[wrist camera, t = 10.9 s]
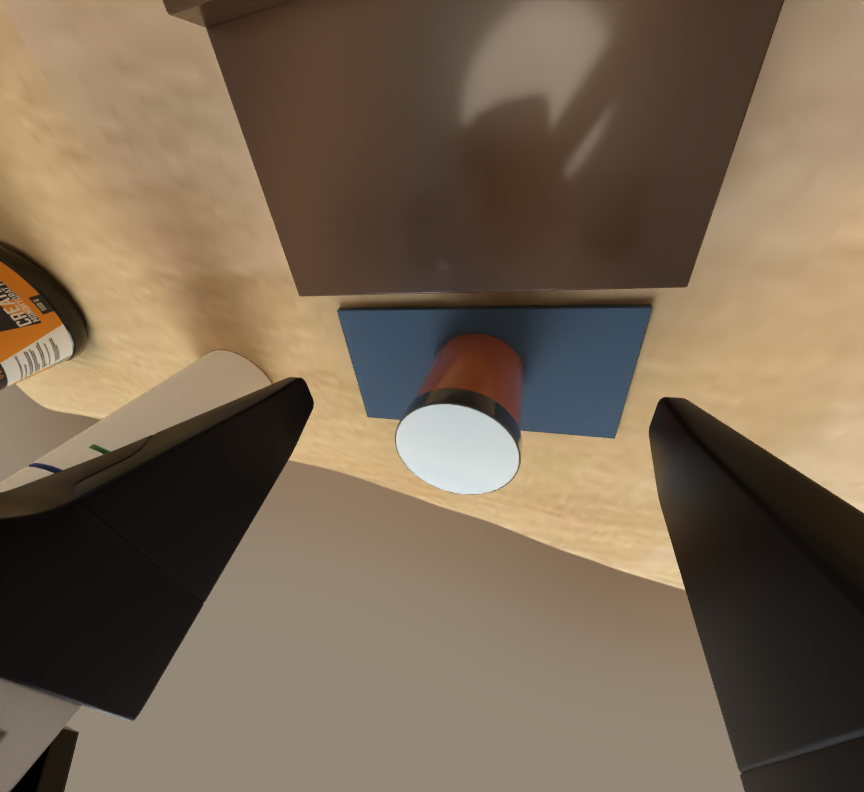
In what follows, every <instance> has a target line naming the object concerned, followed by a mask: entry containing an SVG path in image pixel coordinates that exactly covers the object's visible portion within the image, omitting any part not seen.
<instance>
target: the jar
mask: <svg viewBox="0 0 864 792" xmlns="http://www.w3.org/2000/svg"><path fill="white" fill-rule="evenodd" d="M523 390H524V368H523V365H522V362H521V360H520V358H519V356H518V355H517V353H516V352H515V351H514V350H513V349H512V348H511V347H510V346H509V345H508V344H507V343H505V342H504V341H502V340H500V339H498V338H496V337H493V336H490V335H486V334H480V333H469V334H463V335H460V336H456V337H454V338H452V339H450V340H449V341H447V342H446V343H445V344H443V345H442V346H441V348H440V349H439V350H438V352H437V353H436V355H435V357H434V359H433V361H432V363H431V365H430V367H429V369H428V371H427V373H426V375H425V377H424V379H423V381H422V383H421V385H420V387H419V389H418V391H417V393H416V395H415V397H414V399H413V401H412V402H411V403H410V404H409V406H408V407H407V409H406V410H405V412H404V414H403V416H402V418H401V420H400V422H399V424H398V426H397V429H396V433H395V443H396V448H397V451H398V454H399V456H400V458H401V459H402V461H403V463H404V464H405V465H406V466H407V468H408V469H409V470H410V471H411V472H412V473H414V474H415V475H416V476H417V477H418V478H420V479H421V480H423V481H424V482H426V483H428V484H430V485H432V486H434V487H436V488H439V489H442V490H445V491H448V492H452V493H457V494H466V495H476V494H484V493H489V492H493V491H495V490H498V489H500V488H502V487H504V486H505V485H507V484H508V483H509V482H510V481H511V480H512V479H513V478H514V477H515V475H516V474H517V472H518V470H519V467H520V462H521V451H522V437H521V419H522V404H523Z"/></svg>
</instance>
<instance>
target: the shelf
mask: <svg viewBox="0 0 864 792" xmlns="http://www.w3.org/2000/svg"><path fill="white" fill-rule="evenodd" d="M783 2H784V0H163V3H164V5H165V8H166V10H167V12H168V14H169V15H172V16H175V17H178V18H180V19H183V20H186V21H189V22H192V23H194V24H197V25H200V26H203V27H206V29H207V32H208V35H209V37H210V40H211V43H212V46H213V49H214V52H215V55H216V58H217V60H218V63H219V66H220V69H221V72H222V75H223V78H224V81H225V83H226V86H227V89H228V92H229V95H230V98H231V101H232V104H233V106H234V109H235V112H236V115H237V118H238V121H239V124H240V127H241V129H242V132H243V135H244V138H245V141H246V144H247V147H248V149H249V152H250V155H251V158H252V161H253V164H254V167H255V170H256V172H257V175H258V178H259V181H260V184H261V187H262V190H263V193H264V195H265V198H266V201H267V204H268V207H269V210H270V213H271V216H272V218H273V221H274V224H275V227H276V230H277V233H278V236H279V239H280V241H281V244H282V247H283V250H284V253H285V256H286V259H287V262H288V264H289V267H290V270H291V273H292V276H293V279H294V282H295V285H296V287H297V290H298V293H299V296H338V295H381V294H423V293H466V292H508V291H551V290H593V289H636V288H678V287H687V286H688V283H689V280H690V277H691V274H692V271H693V268H694V265H695V262H696V259H697V256H698V253H699V251H700V248H701V245H702V242H703V239H704V236H705V233H706V230H707V227H708V224H709V221H710V218H711V215H712V212H713V209H714V206H715V203H716V200H717V197H718V194H719V191H720V188H721V186H722V183H723V180H724V177H725V174H726V171H727V168H728V165H729V162H730V159H731V156H732V153H733V150H734V147H735V144H736V141H737V138H738V135H739V132H740V129H741V126H742V123H743V121H744V118H745V115H746V112H747V109H748V106H749V103H750V100H751V97H752V94H753V91H754V88H755V85H756V82H757V79H758V76H759V73H760V70H761V67H762V64H763V61H764V59H765V56H766V53H767V50H768V47H769V44H770V41H771V38H772V35H773V32H774V29H775V26H776V23H777V20H778V17H779V14H780V11H781V8H782V5H783Z"/></svg>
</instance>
